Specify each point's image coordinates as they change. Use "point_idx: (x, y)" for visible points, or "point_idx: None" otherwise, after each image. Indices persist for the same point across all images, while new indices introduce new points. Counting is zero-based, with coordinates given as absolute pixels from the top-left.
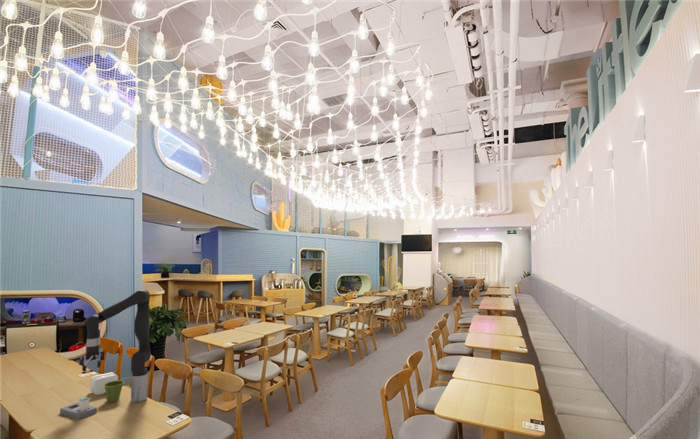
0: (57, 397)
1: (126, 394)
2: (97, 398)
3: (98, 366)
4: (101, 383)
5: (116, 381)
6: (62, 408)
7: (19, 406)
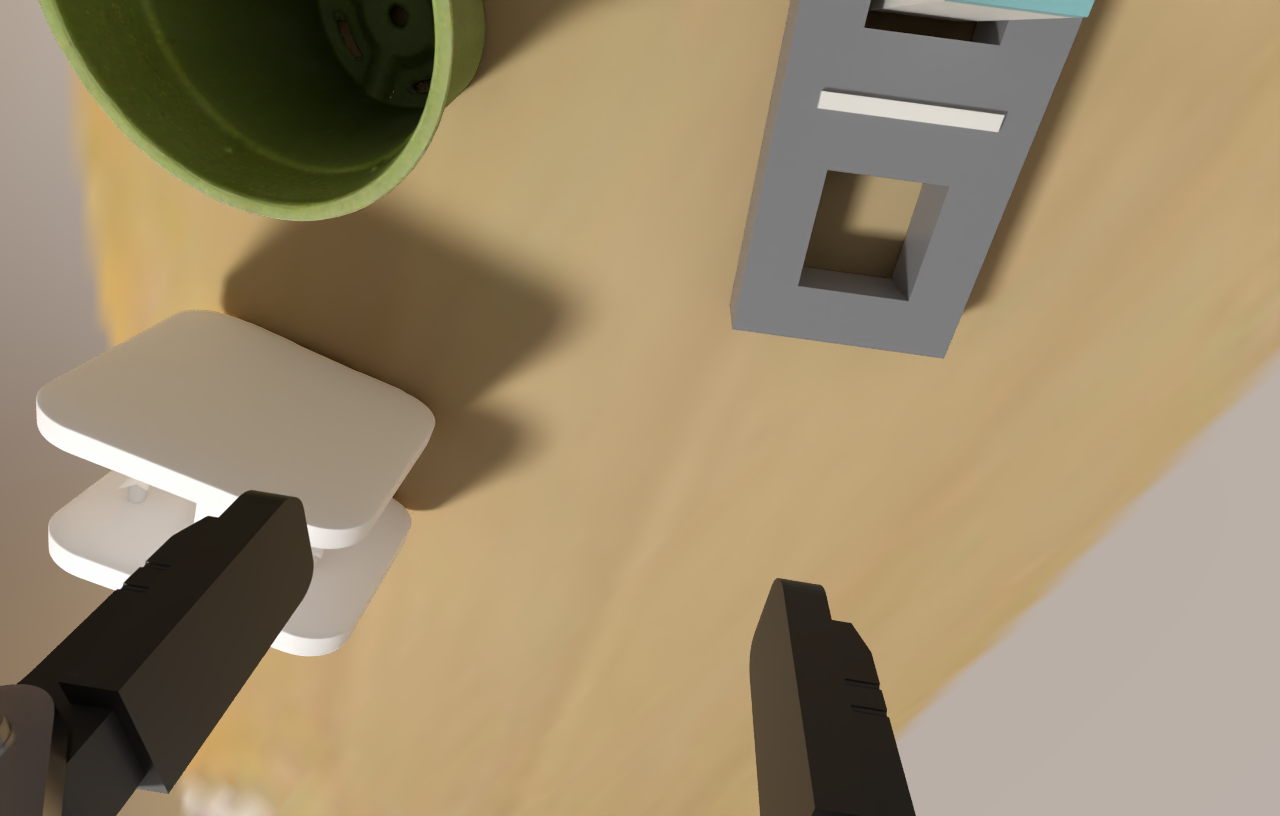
0: (605, 667)
1: None
2: (466, 308)
3: (272, 536)
4: (311, 450)
5: (148, 120)
6: (940, 332)
7: None
